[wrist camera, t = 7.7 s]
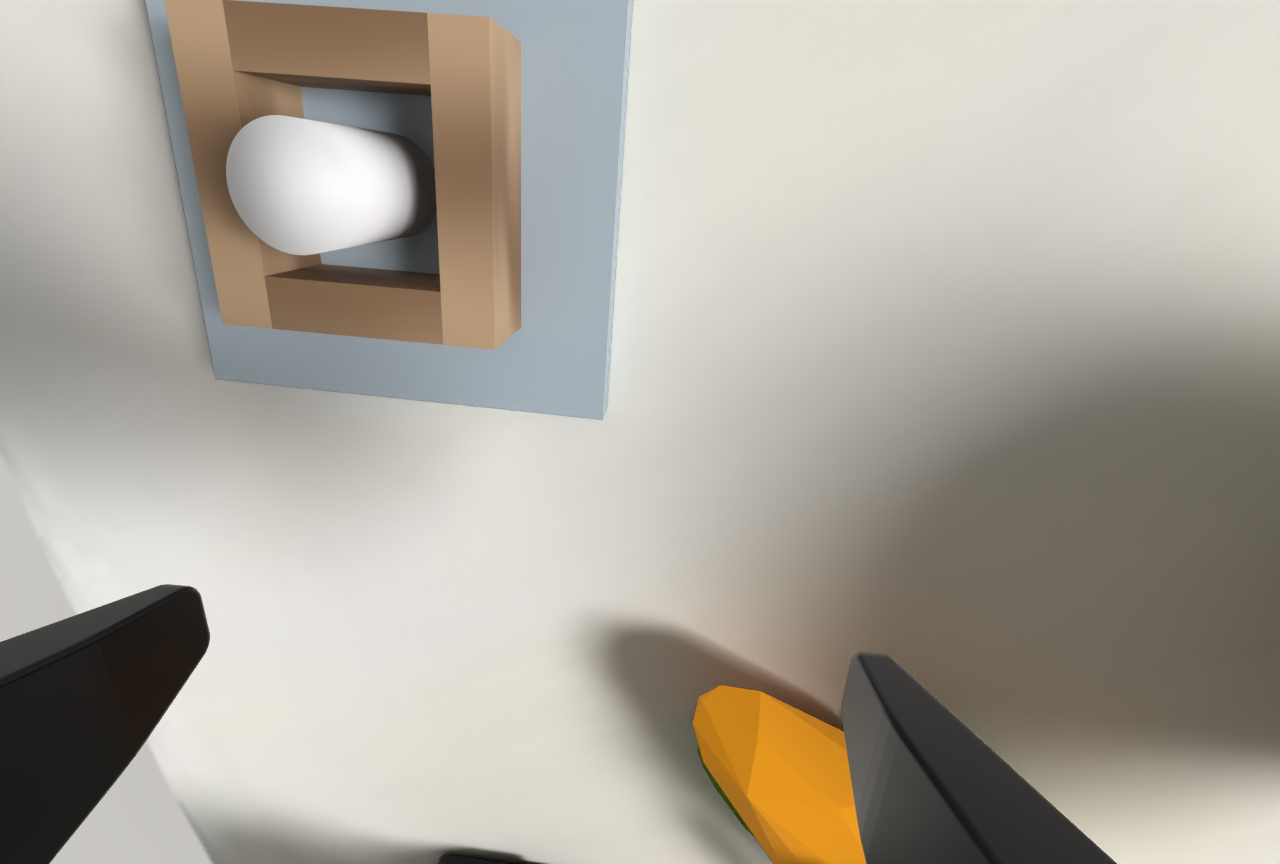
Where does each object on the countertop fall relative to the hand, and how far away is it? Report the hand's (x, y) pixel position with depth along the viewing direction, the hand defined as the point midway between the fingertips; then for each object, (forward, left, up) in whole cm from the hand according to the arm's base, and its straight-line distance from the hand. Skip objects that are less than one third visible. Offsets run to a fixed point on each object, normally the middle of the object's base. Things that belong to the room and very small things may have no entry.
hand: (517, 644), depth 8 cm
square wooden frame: (+5, +6, -11) cm, 13 cm away
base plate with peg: (+5, +6, -12) cm, 14 cm away
